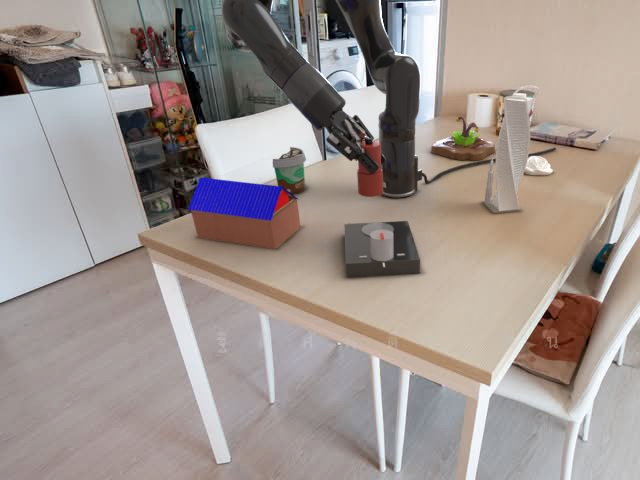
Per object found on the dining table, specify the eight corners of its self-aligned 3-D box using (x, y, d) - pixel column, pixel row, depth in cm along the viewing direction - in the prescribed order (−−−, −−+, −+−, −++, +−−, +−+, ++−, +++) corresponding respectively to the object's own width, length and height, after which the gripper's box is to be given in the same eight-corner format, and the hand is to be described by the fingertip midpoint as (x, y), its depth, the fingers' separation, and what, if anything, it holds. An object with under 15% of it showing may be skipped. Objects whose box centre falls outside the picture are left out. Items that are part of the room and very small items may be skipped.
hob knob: (370, 251, 89) (369, 228, 86) (392, 249, 90) (392, 227, 87) (371, 262, 85) (370, 238, 83) (394, 260, 86) (394, 237, 83)
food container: (299, 198, 121) (294, 160, 115) (277, 197, 122) (271, 159, 116) (315, 183, 131) (312, 147, 125) (295, 181, 132) (290, 146, 126)
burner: (381, 220, 101) (381, 220, 101) (400, 231, 97) (400, 230, 97) (355, 228, 98) (355, 227, 98) (373, 239, 93) (373, 239, 93)
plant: (452, 140, 168) (454, 108, 162) (501, 149, 159) (505, 115, 153) (422, 153, 155) (423, 118, 149) (474, 163, 145) (477, 127, 139)
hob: (345, 236, 102) (344, 223, 100) (407, 233, 103) (407, 220, 101) (346, 283, 85) (345, 268, 83) (421, 278, 86) (421, 264, 85)
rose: (534, 150, 142) (561, 156, 136) (532, 164, 145) (559, 171, 139) (514, 156, 137) (542, 163, 131) (512, 170, 139) (539, 178, 133)
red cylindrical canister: (362, 187, 94) (359, 134, 88) (385, 188, 93) (385, 135, 88) (355, 195, 90) (352, 141, 84) (379, 197, 89) (378, 142, 84)
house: (276, 249, 96) (266, 196, 90) (195, 237, 101) (181, 186, 95) (302, 226, 106) (296, 177, 99) (228, 216, 111) (217, 169, 104)
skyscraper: (513, 200, 119) (529, 82, 104) (527, 212, 113) (546, 88, 97) (482, 203, 118) (494, 83, 102) (494, 215, 111) (509, 89, 96)
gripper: (312, 88, 76) (383, 165, 81) (339, 76, 88) (400, 144, 93) (286, 120, 80) (356, 191, 85) (316, 104, 92) (376, 168, 96)
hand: (379, 166), depth 89 cm, fingers closed on red cylindrical canister, 4 cm apart
